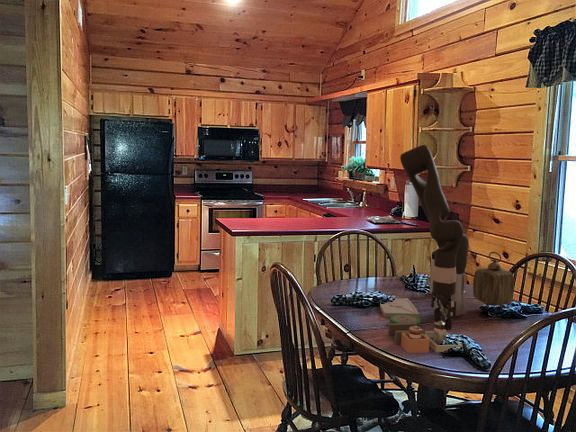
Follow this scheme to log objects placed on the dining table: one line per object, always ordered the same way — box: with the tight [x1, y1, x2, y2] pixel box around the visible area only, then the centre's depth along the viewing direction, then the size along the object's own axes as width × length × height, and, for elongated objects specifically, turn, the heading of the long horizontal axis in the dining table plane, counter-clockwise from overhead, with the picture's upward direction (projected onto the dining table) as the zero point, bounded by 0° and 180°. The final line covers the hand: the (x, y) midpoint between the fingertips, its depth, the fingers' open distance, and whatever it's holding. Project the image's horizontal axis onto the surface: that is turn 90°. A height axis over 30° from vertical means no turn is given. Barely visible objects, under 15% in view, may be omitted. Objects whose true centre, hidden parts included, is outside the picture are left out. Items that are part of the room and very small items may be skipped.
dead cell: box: [409, 326, 423, 339], centre depth 178 cm, size 4×4×8 cm
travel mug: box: [429, 250, 436, 296], centre depth 247 cm, size 6×7×20 cm
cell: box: [432, 320, 447, 345], centre depth 184 cm, size 4×4×8 cm
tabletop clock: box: [472, 251, 515, 310], centre depth 222 cm, size 14×9×25 cm, turn 20°
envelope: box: [379, 297, 420, 319], centre depth 225 cm, size 24×2×14 cm
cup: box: [400, 332, 430, 354], centre depth 178 cm, size 7×7×5 cm
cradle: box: [387, 323, 426, 346], centre depth 188 cm, size 10×11×5 cm
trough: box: [425, 330, 463, 353], centre depth 183 cm, size 9×14×3 cm, turn 8°
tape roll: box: [389, 315, 421, 328], centre depth 204 cm, size 11×11×3 cm
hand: (442, 325), depth 183 cm, fingers open, 8 cm apart
